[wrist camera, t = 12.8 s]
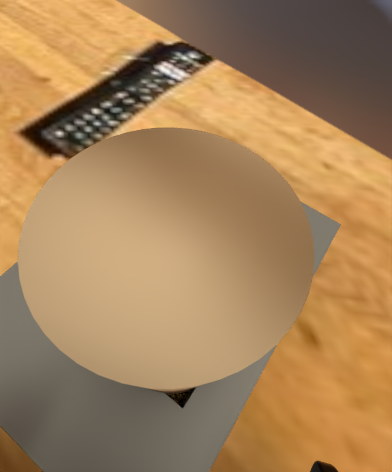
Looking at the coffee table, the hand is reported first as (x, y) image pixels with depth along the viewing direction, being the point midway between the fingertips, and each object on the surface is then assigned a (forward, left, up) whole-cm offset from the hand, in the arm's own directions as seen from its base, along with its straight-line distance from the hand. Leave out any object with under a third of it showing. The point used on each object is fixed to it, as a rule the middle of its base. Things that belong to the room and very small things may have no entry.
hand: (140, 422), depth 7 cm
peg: (+3, +1, -8) cm, 9 cm away
